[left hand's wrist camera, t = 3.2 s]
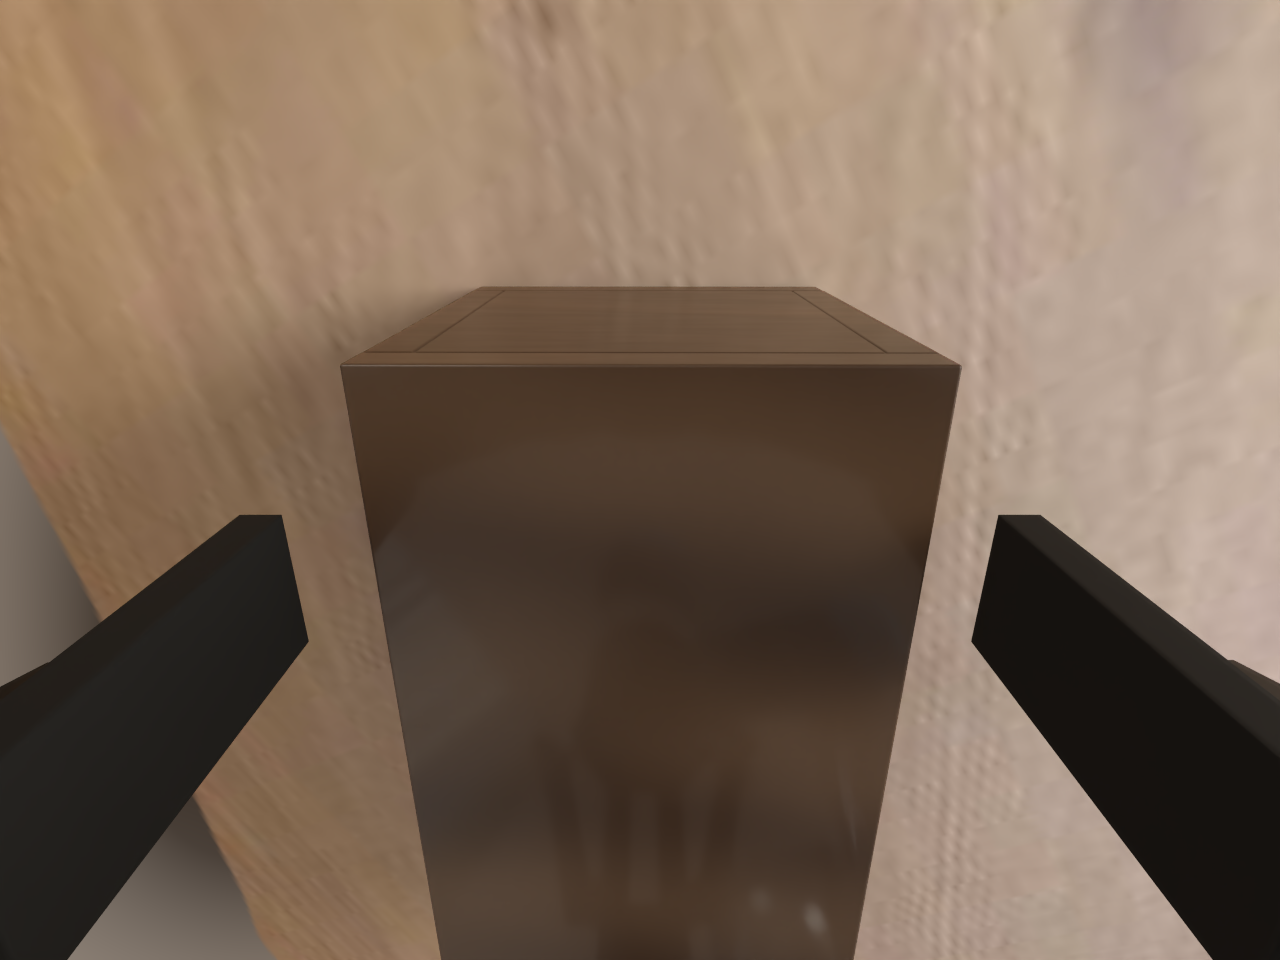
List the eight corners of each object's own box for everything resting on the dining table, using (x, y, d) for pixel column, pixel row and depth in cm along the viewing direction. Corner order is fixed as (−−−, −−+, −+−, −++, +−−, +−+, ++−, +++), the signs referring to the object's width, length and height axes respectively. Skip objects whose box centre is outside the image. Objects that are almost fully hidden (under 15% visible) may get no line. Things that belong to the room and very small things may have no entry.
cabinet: (767, 802, 29) (827, 1103, 19) (524, 800, 29) (464, 1099, 19) (817, 286, 21) (963, 365, 11) (479, 286, 21) (338, 363, 11)
